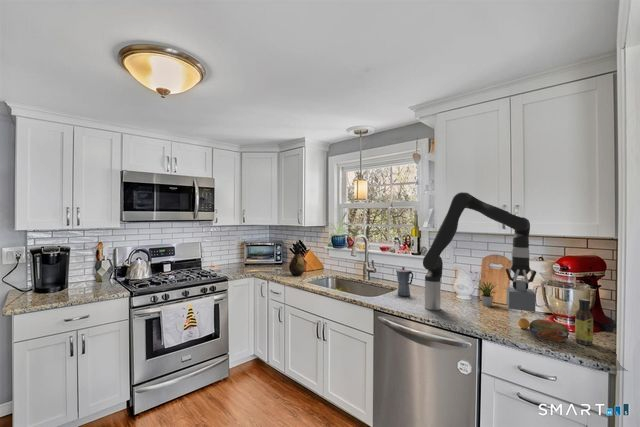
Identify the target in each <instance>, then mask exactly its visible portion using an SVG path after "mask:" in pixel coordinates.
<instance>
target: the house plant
mask: <svg viewBox="0 0 640 427" xmlns="http://www.w3.org/2000/svg"><path fill="white" fill-rule="evenodd" d="M481 282H482V284H483V285H482V284H481V283H480V282H479V281H477V283H479V284H476V286H477V287H478V290H480V291H481V293H482V294H481V295H480V297H481V305H482V306H484V307H492V305H493V301H494V296H493V295H492V294H496V291H495V290H493V289H494V288H495V287H496V286H497V285H499V283H496V284H495V283H493V280H492V281H489V283H488V282H486V283H485V282H484V281H482V280H481Z"/></svg>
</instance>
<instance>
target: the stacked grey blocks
mask: <svg viewBox="0 0 640 427" xmlns="http://www.w3.org/2000/svg"><path fill="white" fill-rule="evenodd" d="M506 305H507V307H508V309H509V310H518V311H523V312H524V311H525V312H532V313H535V312H536V293H535V291H534V290H533V289H531V288H528V289H527V290H526V281H525V279H516V289H514V288H513V286H512V287H511V286H506Z"/></svg>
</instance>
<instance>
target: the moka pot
mask: <svg viewBox="0 0 640 427" xmlns="http://www.w3.org/2000/svg"><path fill="white" fill-rule="evenodd" d="M395 272H396V278H397V281H398V285H397V287H398V288H397V295H398V296H401V297H409V296H411V291H410V285H412V282H413V278H414V273H413V272H412V270H407V269H405V267H404V266H402V267H401V269H397V270H395ZM410 276H411V277H410Z"/></svg>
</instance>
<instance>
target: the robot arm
mask: <svg viewBox="0 0 640 427" xmlns="http://www.w3.org/2000/svg"><path fill="white" fill-rule="evenodd" d="M465 209H469V210H473V211H475V212H478V213H480V214H482V215H483V216H485V217H487V218H488V219H490V220H493V221H494V222H498V223H500V224H503V225H505V226H507V227H509V228H510V229H512V230H514V235H513V238H512V251H511V267H508V268H504V269H505V270H504V271H505V272H506V275H507V278H508V279H509V281H511V282H512V287H513V288H514V289H516V280H518V277H523V278H524V279H523V280H525V281H526V290H527V289H529V283H533V282H534V280H535V278H536V275H537V271H536V269H535V270H534V269H531V268H530V239H529V238H530V230H531V223H530V220H529V219H528V218H526V217H523V216H522V217H521V216H518V215H516V214H513V213H511V212H509V211H507V210H505V209H502V208H500V207H497V206H494V205H492V204H489V203H487V202H484V201H482V200H480V199H479V198H477V197H475V196H474V195H472V194H470V193H469V192H463V191H461V192H458V193H455V194H454V196H453V197H452V199H451V202H450V205H449V208H448V211H447V213H446V215H445V216H444V219H443V221H442V222H441V224H440V226H439V228H438V230H437V232H436V235H435V237H434V239H433V241H432V243H431V246H430V248H429V249H428V251H427V252H426V254H425V255H424V257H423V259H422V265H423V267H424V269H425V270H427V273H426V274H425V276H424V308H425V309H426V310H430V311H440V310H441V304H442V303H441V300H442V299H441V294H442V293H441V292H442V289H441V288H442V287H441V286H442V285H441V284H442V280H441V279H442V277H443V268H444V267H443V265H444V264H443V259H442V257H441V254H442V252H443V251H444V250H445V249H446V248H447V247H448V245H450V243H452V241H453V239H454V236H455V235H456V233H457V230H458V225H459V220H460V217H461V215H462V214H463V212H464V210H465ZM511 272H513V277H512V275H511ZM529 273H530V277H528V274H529ZM528 278H529V279H528Z"/></svg>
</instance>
